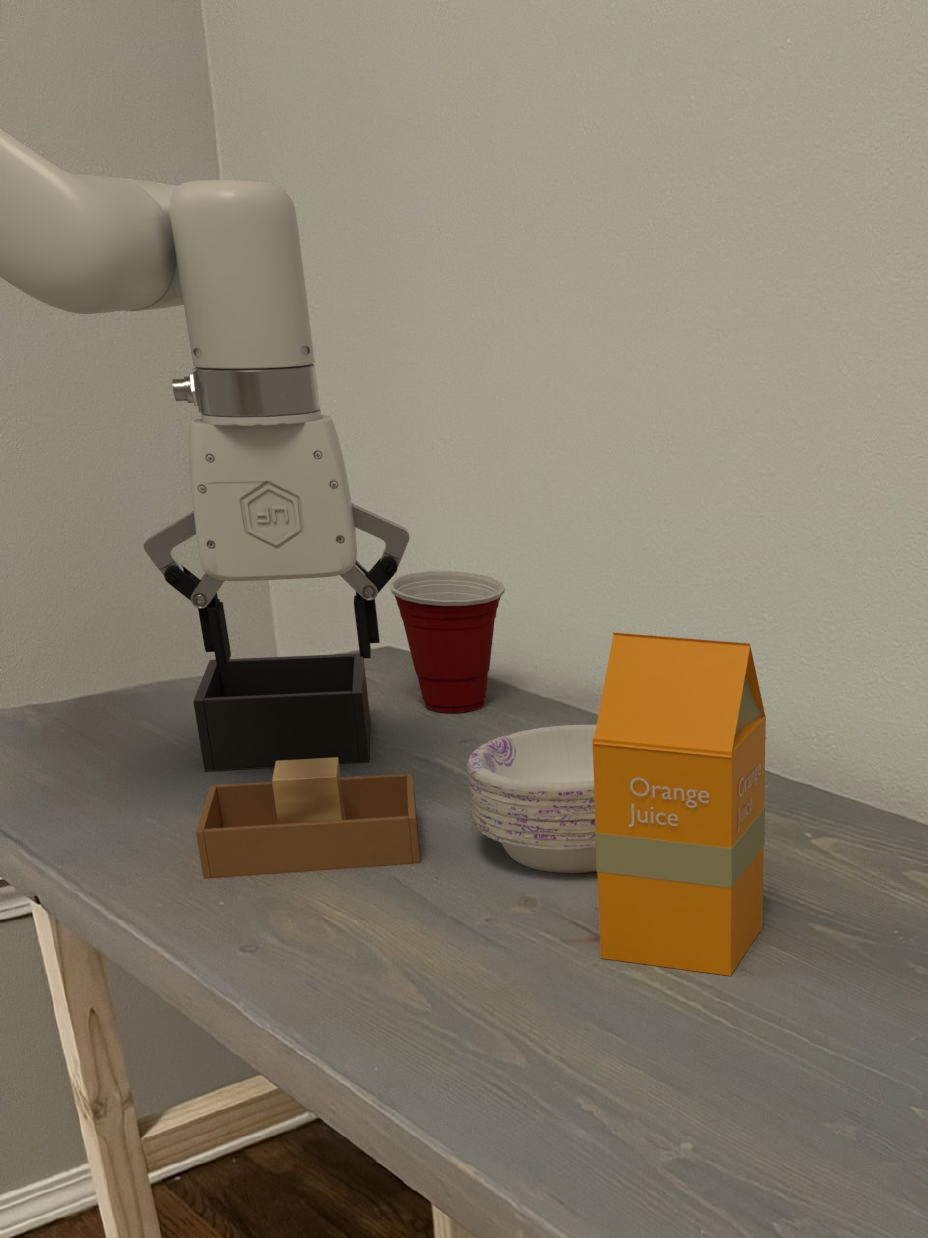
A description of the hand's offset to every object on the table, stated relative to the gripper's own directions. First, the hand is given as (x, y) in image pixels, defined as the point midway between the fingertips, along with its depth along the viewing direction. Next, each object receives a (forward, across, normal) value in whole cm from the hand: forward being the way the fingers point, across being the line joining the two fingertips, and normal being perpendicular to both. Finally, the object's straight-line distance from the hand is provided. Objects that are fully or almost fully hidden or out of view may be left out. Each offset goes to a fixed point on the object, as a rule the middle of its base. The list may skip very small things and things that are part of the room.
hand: (295, 657), depth 104 cm
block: (+14, 0, 0) cm, 14 cm away
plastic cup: (+15, +12, +37) cm, 42 cm away
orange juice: (+15, +24, -21) cm, 35 cm away
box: (+15, 0, 0) cm, 15 cm away
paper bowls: (+15, +18, -4) cm, 24 cm away
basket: (+14, -3, +26) cm, 30 cm away
